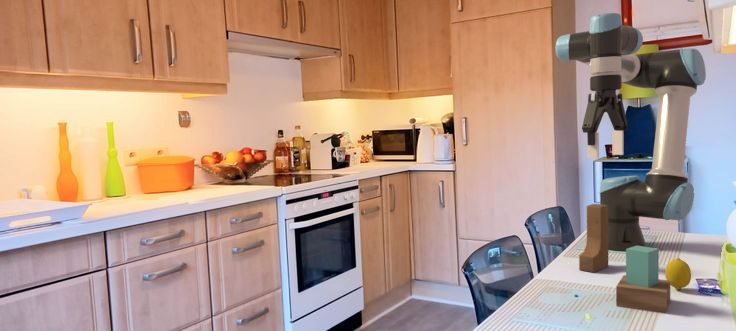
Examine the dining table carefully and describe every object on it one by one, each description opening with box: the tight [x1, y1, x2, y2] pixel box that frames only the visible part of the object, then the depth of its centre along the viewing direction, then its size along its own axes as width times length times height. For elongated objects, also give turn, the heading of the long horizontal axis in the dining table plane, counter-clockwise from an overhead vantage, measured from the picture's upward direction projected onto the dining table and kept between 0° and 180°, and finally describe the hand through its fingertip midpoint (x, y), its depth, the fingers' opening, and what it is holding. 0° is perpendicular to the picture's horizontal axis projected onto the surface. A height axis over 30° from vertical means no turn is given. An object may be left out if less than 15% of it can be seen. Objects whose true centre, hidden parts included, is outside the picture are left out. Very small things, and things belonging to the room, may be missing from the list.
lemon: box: [664, 257, 692, 291], centre depth 133 cm, size 6×6×8 cm
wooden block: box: [578, 203, 609, 273], centre depth 154 cm, size 9×4×18 cm, turn 131°
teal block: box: [625, 246, 660, 288], centre depth 125 cm, size 5×5×8 cm
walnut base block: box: [615, 274, 671, 314], centre depth 125 cm, size 10×10×5 cm
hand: (605, 156), depth 143 cm, fingers open, 13 cm apart
